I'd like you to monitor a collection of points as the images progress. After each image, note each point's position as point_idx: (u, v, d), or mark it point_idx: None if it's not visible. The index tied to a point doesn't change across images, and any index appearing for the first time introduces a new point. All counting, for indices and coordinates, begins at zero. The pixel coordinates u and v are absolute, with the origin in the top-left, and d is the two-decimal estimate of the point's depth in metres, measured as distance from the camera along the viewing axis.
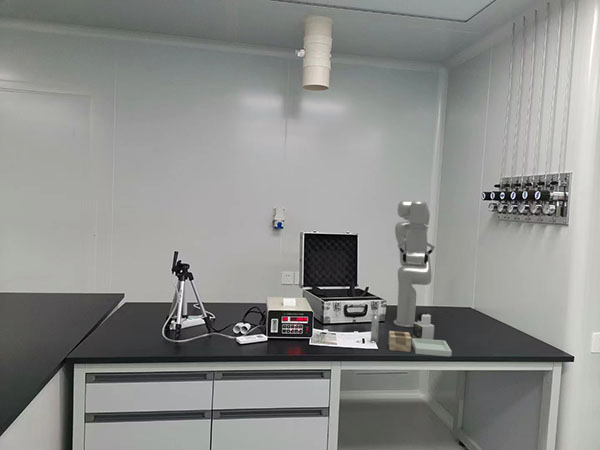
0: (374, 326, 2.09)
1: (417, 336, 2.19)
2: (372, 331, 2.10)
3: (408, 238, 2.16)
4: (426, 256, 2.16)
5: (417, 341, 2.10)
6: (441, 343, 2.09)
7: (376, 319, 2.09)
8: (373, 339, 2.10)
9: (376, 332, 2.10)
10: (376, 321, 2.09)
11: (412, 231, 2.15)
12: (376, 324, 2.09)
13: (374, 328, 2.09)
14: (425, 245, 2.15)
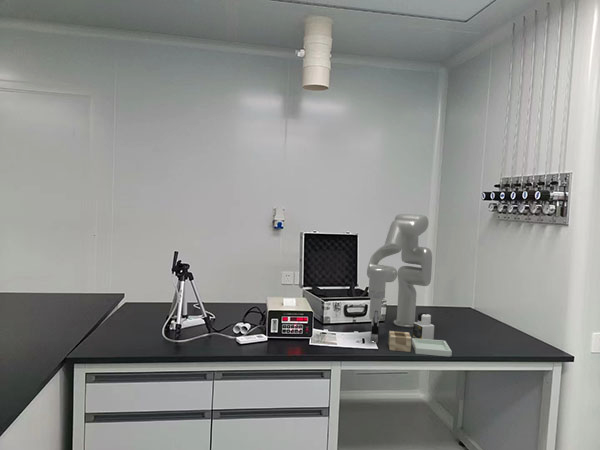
0: None
1: (417, 336, 2.19)
2: None
3: (381, 307, 2.06)
4: None
5: (417, 341, 2.10)
6: (441, 343, 2.09)
7: None
8: (373, 339, 2.10)
9: None
10: None
11: (381, 299, 2.08)
12: None
13: None
14: None
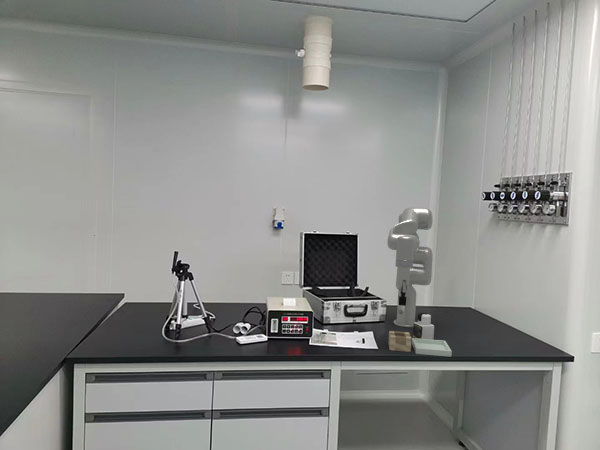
0: None
1: (417, 336, 2.19)
2: None
3: (409, 277, 1.98)
4: None
5: (417, 341, 2.10)
6: (441, 343, 2.09)
7: None
8: (400, 310, 2.02)
9: None
10: None
11: (409, 269, 1.99)
12: None
13: None
14: None
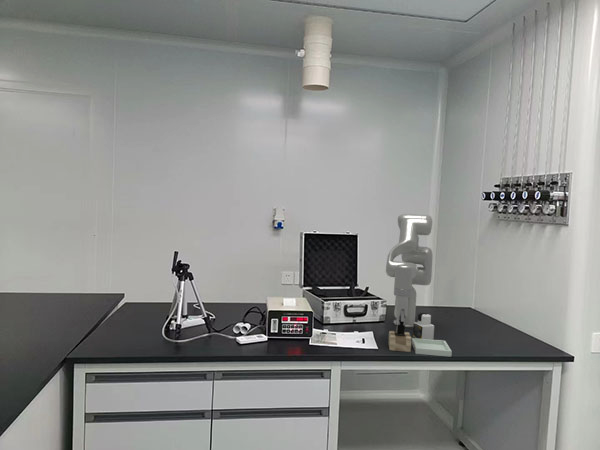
0: None
1: (417, 336, 2.19)
2: None
3: (407, 306, 1.99)
4: None
5: (417, 341, 2.10)
6: (441, 343, 2.09)
7: None
8: None
9: None
10: None
11: (408, 297, 2.00)
12: None
13: None
14: None
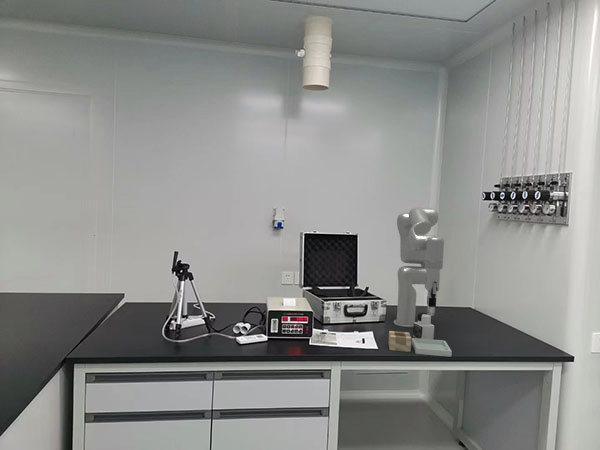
0: None
1: (417, 336, 2.19)
2: None
3: (439, 278, 1.97)
4: None
5: (417, 341, 2.10)
6: (441, 343, 2.09)
7: None
8: (430, 312, 2.01)
9: None
10: None
11: (439, 270, 1.99)
12: None
13: None
14: None
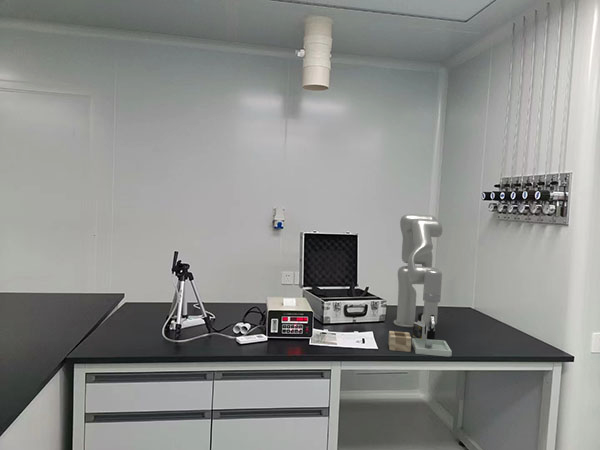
0: None
1: (417, 336, 2.19)
2: None
3: (437, 312, 1.98)
4: None
5: (417, 341, 2.10)
6: (441, 343, 2.09)
7: None
8: (428, 345, 2.02)
9: None
10: None
11: (437, 303, 2.00)
12: None
13: None
14: None
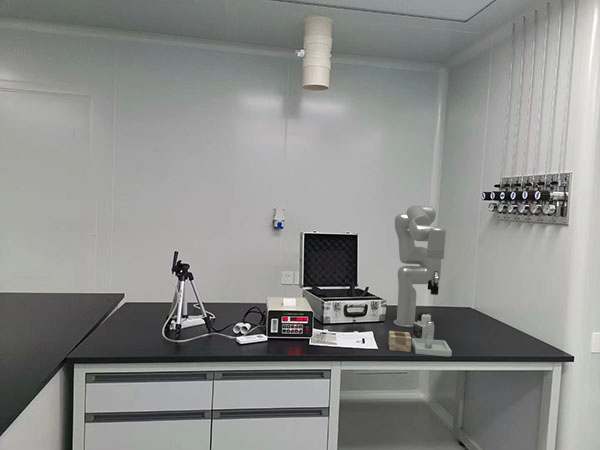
0: (428, 331, 2.02)
1: (417, 336, 2.19)
2: (427, 337, 2.02)
3: (440, 268, 2.01)
4: None
5: (417, 341, 2.10)
6: (441, 343, 2.09)
7: (431, 325, 2.01)
8: (428, 345, 2.02)
9: (431, 338, 2.02)
10: (431, 327, 2.01)
11: None
12: (431, 330, 2.02)
13: (429, 334, 2.02)
14: None
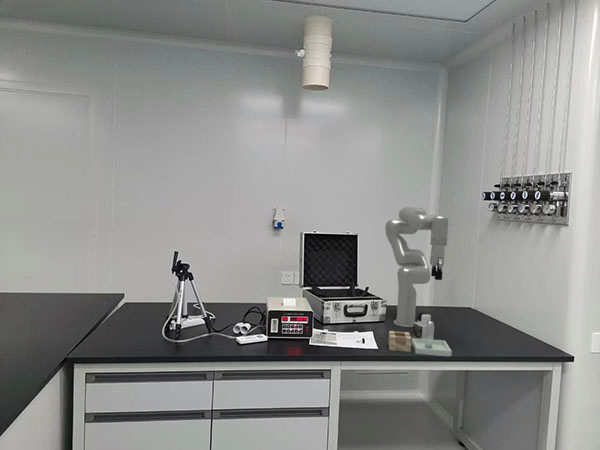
0: (429, 331, 2.02)
1: (417, 336, 2.19)
2: (427, 337, 2.02)
3: None
4: None
5: (417, 341, 2.10)
6: (441, 343, 2.09)
7: (431, 325, 2.01)
8: (428, 345, 2.02)
9: (431, 338, 2.02)
10: (431, 327, 2.01)
11: None
12: (431, 330, 2.02)
13: (429, 334, 2.02)
14: None
